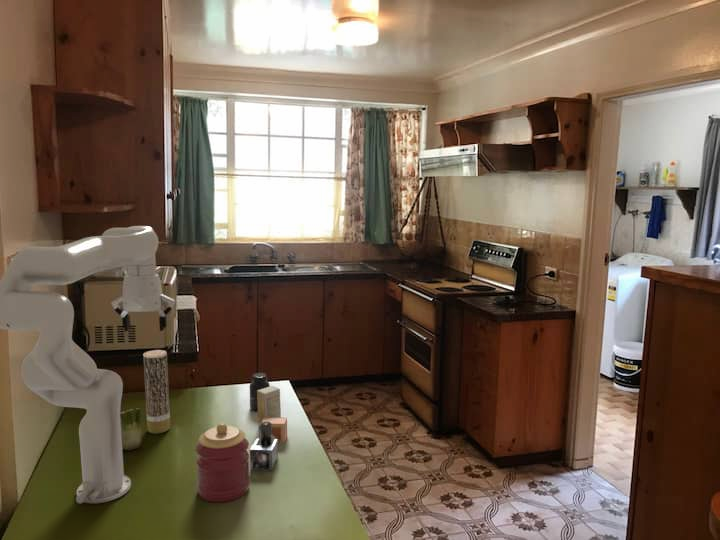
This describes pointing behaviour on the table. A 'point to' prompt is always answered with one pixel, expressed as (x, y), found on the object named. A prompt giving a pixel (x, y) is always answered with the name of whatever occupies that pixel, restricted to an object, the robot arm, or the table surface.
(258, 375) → the supplement bottle
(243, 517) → the table surface
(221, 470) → the canister
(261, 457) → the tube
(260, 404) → the skincare box
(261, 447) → the sleeve
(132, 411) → the fennel bulb
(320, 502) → the table surface
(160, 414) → the paper tube
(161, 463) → the table surface
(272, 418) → the socket
